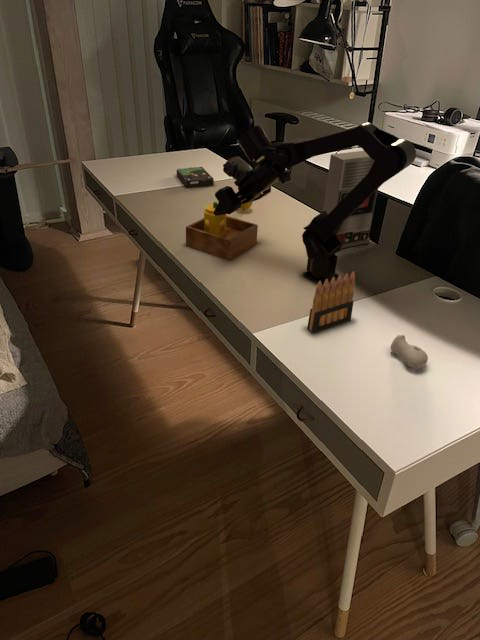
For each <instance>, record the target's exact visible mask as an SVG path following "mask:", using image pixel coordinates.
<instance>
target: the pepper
mask: <svg viewBox="0 0 480 640" xmlns="http://www.w3.org/2000/svg"><path fill="white" fill-rule="evenodd" d="M217 204H218V201H213V202H212V204H208V205H206V206H205V209H204V211H203V218H204V231H205V232H208V233H211V234H214V235H217V236H220V237H223V236H225V235H226V216H227V214H223V215H217V216H215V214H214V213H213V212H214V210H215V208H216V206H217Z"/></svg>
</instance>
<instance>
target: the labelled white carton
mask: <svg viewBox="0 0 480 640" xmlns="http://www.w3.org/2000/svg"><path fill="white" fill-rule="evenodd" d="M373 163H374V160H373V159H371V158H370V157H369V156H368V154H367V153H366V152H365V151H364V150H359V151H358V150H357V151H347V152H339V153H332V154H330V157H329V166H328V174H327V180H326V188H325V193H324V200H323V201H324V202H323V210H322V212H323V211H326V212H327V214H329V213H330V212H331V211H332V210H333V209H334V208H335V207H336V206H337V205H338V204H339V203H340V202H341V201H342V200H343V199H344V198H345V197H346V196H347V195H348V194H349V193H350V192H351V190H352V189H353V188H354V187H355V186H356V185H357V184H358V183H359V182H360V181H361V180H362V179H363V178H364V177H365V176H366V175H367V174H368V172H369V170H370V168H371V166H372V164H373ZM378 192H379V188H378V189H377V190H376V191H375V192H374V193H373V194H372V195H371V196H370V197H369V198H368V199H367V200H366V201H365V202H364V203H363V204H362V205H361V206H360V207H359V208H357V209H356V210H355V211H354V212H353V213H352V214H351V215H350V216H349V217H348V218H347V219H346V220H345V221H344V222H343V224H342V226H341V228H340V230H339V231H338V233H337V234H336V235H337V236H338V238H339V239H340V241H341V242H342V244H343V245H342V247H341V249H346V248H350V247H355V246H358V245H365V244H369V243H370V242H371V238H370V233H371V229H372V228H371V227H372V224H373V223H372V222H373V218H374V211H375V207H376V202H377V197H378Z"/></svg>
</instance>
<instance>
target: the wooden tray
mask: <svg viewBox="0 0 480 640" xmlns="http://www.w3.org/2000/svg"><path fill="white" fill-rule="evenodd" d="M258 228H259V225H258V224H256V223H253V222H250V221H247V220H242V219H240V218H236V217H233V216H229V215H226V235H225V236H223V237H220V236H217V235H214V234H211V233H208V232H205V231H204V217H203V218H201V219H199V220H197V221H195V222H193V223H190V224H189V225H186V226H185V245H186V246H187V247H189V248H192V249H195V250H198V251H200V252H201V251H202V252H204V253H207V254H211V255H213V256H216V257H219V258H222V259H225V260H227V261H230V260H232V259H234V258H235V257H237V256H238V255H241V253H243V252H244V251H246V250H248V249H249V248H251V247H253V246H254V245H256V244H257V243H258V232H259V231H258Z"/></svg>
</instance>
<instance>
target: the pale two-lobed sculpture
mask: <svg viewBox="0 0 480 640" xmlns="http://www.w3.org/2000/svg"><path fill="white" fill-rule="evenodd" d="M390 351H391V354H399V355H400V356H401V357H402V358H403V359H404V361H405V365H406V366H407V367H410V368H412V369H416V370H418V369H422V368H424V367H425V366H426V365H427V363H428V360H429V356H428V354H427V352H426V351H425V350H423V349H422V348H421V347H419V346H417V345H414V344H410V343H408V342H407V340H406V335H404V334H397V335H396V336H395V338H394V339H393V341H392V342H391V344H390Z"/></svg>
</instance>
